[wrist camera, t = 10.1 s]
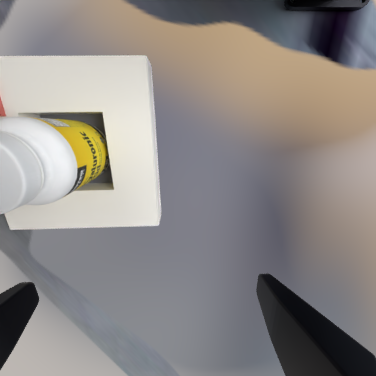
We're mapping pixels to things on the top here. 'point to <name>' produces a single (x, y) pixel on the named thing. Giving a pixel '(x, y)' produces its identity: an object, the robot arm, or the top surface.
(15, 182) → the supplement bottle
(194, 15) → the top surface
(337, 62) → the top surface
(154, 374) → the top surface
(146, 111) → the socket plate
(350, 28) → the top surface
